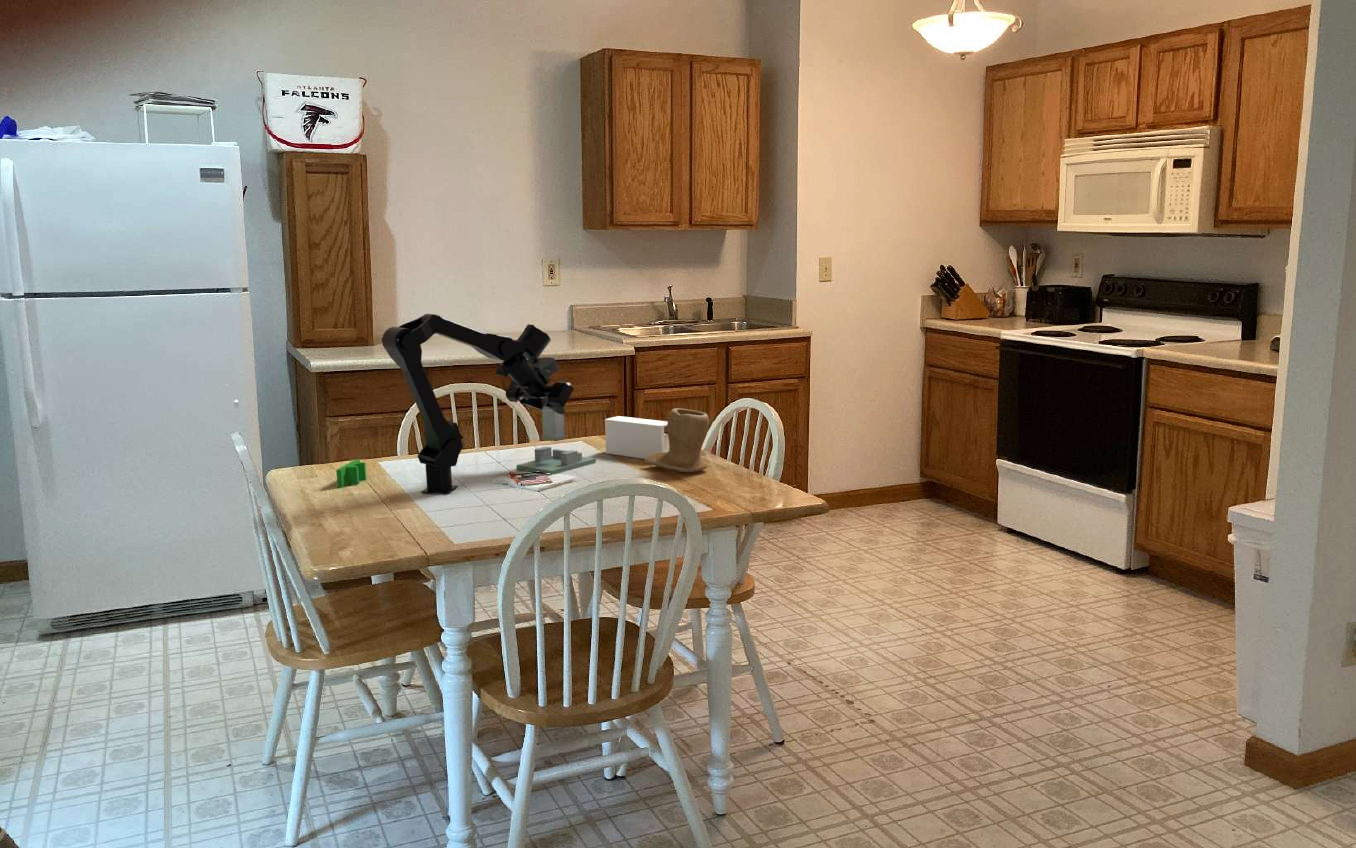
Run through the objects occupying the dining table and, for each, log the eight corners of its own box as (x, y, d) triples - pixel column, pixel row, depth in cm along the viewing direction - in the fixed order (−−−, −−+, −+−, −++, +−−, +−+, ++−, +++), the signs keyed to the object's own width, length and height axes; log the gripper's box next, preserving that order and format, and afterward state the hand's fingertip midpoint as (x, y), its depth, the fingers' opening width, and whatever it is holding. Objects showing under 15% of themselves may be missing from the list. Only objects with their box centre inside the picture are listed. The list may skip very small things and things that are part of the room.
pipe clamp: (353, 489, 256) (351, 470, 255) (337, 488, 257) (336, 469, 256) (371, 477, 267) (370, 459, 266) (356, 477, 267) (355, 459, 267)
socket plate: (551, 474, 265) (550, 458, 264) (516, 469, 272) (515, 453, 271) (595, 462, 277) (595, 447, 276) (561, 457, 284) (560, 442, 283)
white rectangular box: (675, 458, 280) (674, 422, 279) (662, 462, 276) (661, 425, 274) (615, 450, 292) (614, 415, 291) (602, 453, 288) (600, 418, 286)
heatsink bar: (556, 441, 271) (554, 389, 268) (542, 439, 273) (539, 387, 271) (565, 438, 273) (563, 387, 271) (551, 437, 276) (549, 386, 274)
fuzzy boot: (720, 470, 266) (719, 409, 263) (682, 478, 258) (680, 415, 255) (680, 460, 277) (679, 402, 274) (643, 468, 270) (641, 408, 267)
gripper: (567, 349, 260) (599, 389, 271) (511, 345, 272) (544, 384, 282) (545, 386, 256) (578, 425, 266) (489, 381, 267) (524, 418, 277)
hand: (556, 412), depth 273 cm, fingers closed on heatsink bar, 4 cm apart
